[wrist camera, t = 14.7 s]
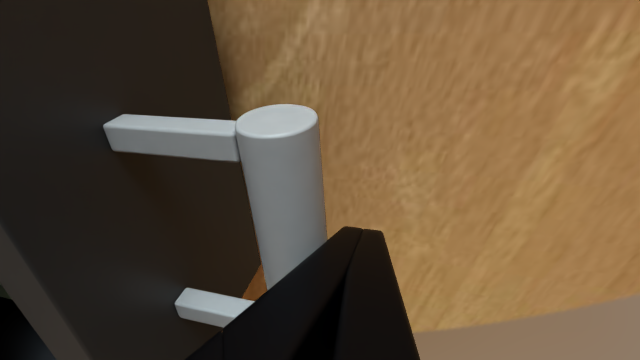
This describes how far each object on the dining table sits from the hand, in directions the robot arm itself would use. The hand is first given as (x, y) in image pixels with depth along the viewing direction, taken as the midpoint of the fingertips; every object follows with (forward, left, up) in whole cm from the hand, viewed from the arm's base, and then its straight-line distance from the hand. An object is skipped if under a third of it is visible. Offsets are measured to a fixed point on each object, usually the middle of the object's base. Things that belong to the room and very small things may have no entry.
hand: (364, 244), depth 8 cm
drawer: (+8, +5, -4) cm, 10 cm away
